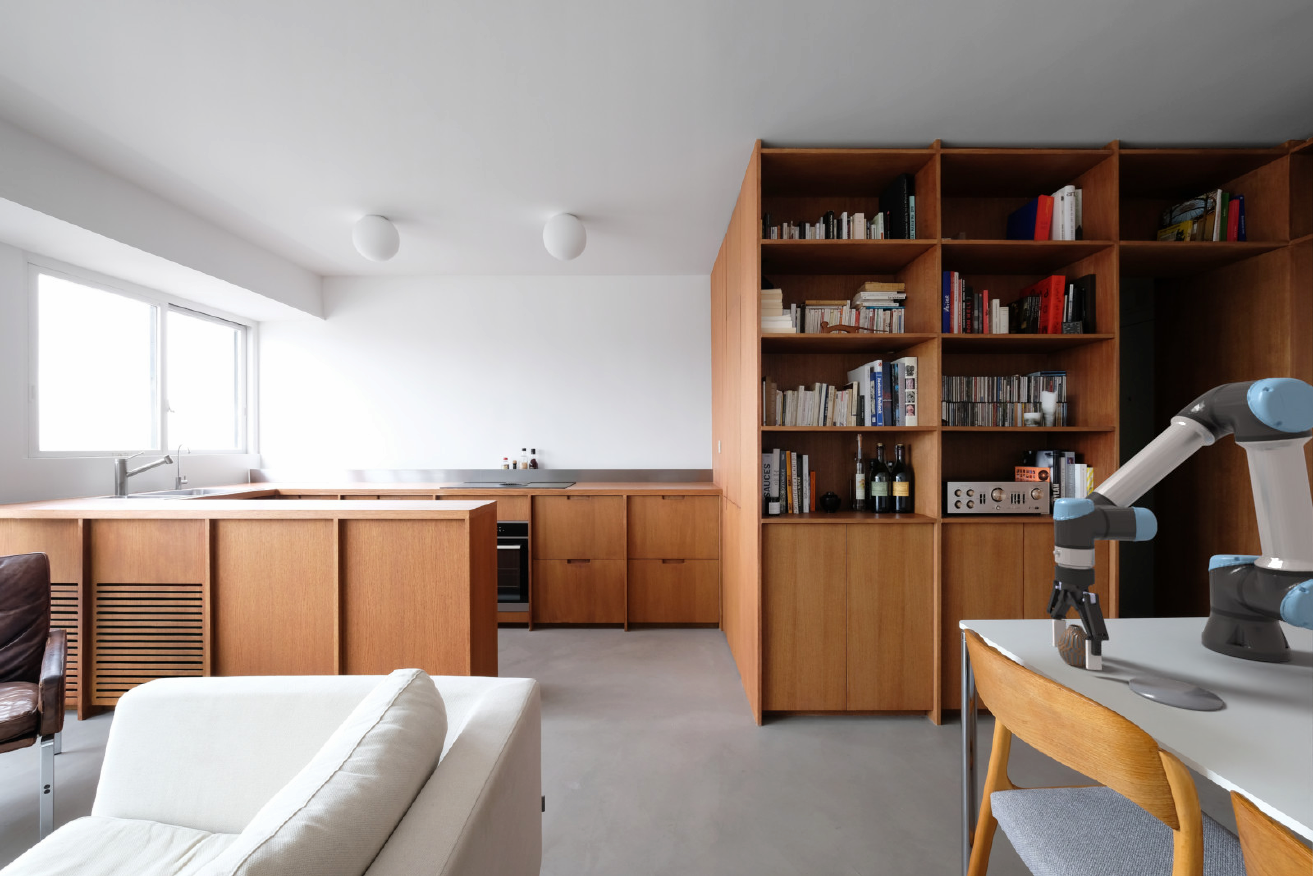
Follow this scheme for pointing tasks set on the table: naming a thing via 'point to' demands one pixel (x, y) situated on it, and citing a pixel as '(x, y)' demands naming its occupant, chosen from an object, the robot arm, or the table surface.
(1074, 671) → the table surface
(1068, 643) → the vase
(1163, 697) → the disc
